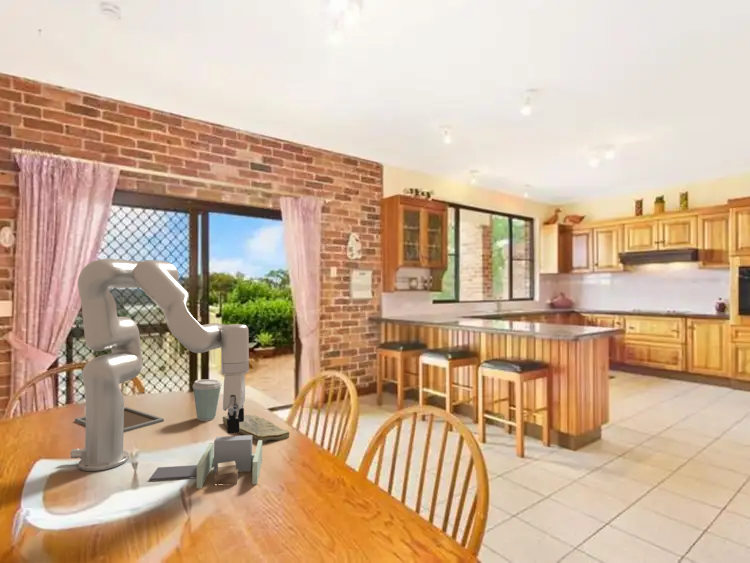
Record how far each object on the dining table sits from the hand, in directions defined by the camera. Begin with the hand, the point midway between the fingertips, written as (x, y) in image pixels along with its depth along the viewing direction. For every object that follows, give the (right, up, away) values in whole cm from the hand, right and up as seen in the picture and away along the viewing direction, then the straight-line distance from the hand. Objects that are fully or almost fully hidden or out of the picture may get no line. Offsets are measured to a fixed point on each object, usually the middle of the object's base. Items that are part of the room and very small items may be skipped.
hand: (235, 427), depth 121 cm
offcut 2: (0, -12, -8) cm, 14 cm away
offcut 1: (0, -9, -8) cm, 12 cm away
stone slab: (-4, -13, +33) cm, 35 cm away
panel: (-15, -12, -3) cm, 19 cm away
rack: (0, -12, -2) cm, 12 cm away
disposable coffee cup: (-26, -12, +45) cm, 53 cm away
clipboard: (-59, -12, +41) cm, 73 cm away
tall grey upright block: (-1, -12, 0) cm, 12 cm away
